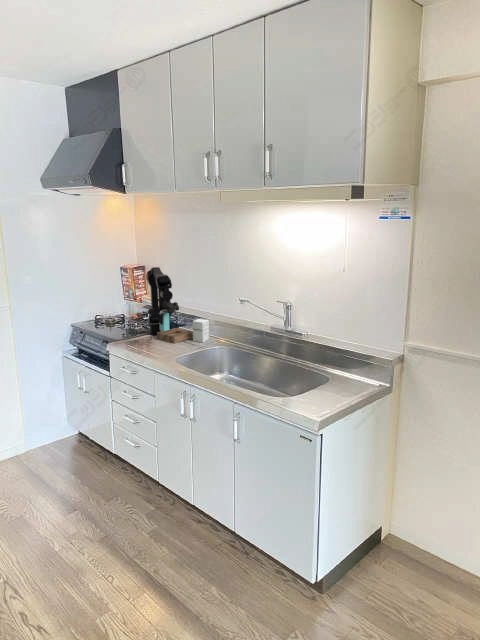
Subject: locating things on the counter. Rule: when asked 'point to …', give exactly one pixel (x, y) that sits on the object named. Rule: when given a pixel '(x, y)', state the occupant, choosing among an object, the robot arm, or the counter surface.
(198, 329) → the supplement box
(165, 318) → the teal peg
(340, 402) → the counter surface
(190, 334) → the walnut socket
